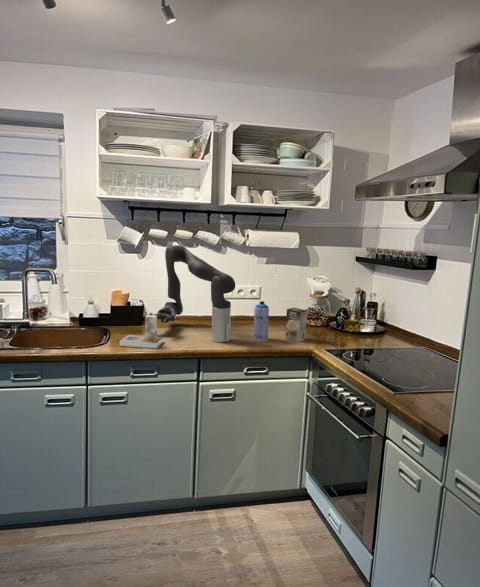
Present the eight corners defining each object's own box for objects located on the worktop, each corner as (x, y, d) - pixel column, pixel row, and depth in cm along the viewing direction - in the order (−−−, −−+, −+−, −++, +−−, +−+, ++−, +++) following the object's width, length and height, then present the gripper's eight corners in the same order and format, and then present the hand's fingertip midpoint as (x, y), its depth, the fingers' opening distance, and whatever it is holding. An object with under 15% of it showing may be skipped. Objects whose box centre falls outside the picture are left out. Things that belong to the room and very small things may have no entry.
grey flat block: (163, 342, 229) (163, 336, 228) (156, 348, 217) (156, 342, 216) (128, 339, 230) (128, 334, 230) (119, 346, 218) (119, 340, 218)
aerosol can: (269, 338, 243) (271, 300, 240) (266, 341, 236) (268, 303, 233) (254, 336, 245) (256, 299, 242) (251, 340, 238) (252, 302, 235)
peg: (156, 343, 225) (157, 315, 223) (154, 346, 221) (154, 317, 219) (147, 343, 226) (147, 315, 223) (145, 345, 221) (145, 316, 219)
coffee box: (284, 338, 244) (285, 308, 241) (291, 336, 248) (293, 307, 246) (298, 342, 238) (300, 311, 235) (305, 340, 242) (307, 310, 240)
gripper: (153, 306, 248) (143, 312, 232) (179, 307, 247) (171, 313, 231) (153, 320, 250) (143, 326, 234) (178, 321, 248) (171, 328, 232)
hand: (157, 320), depth 232 cm, fingers open, 8 cm apart
